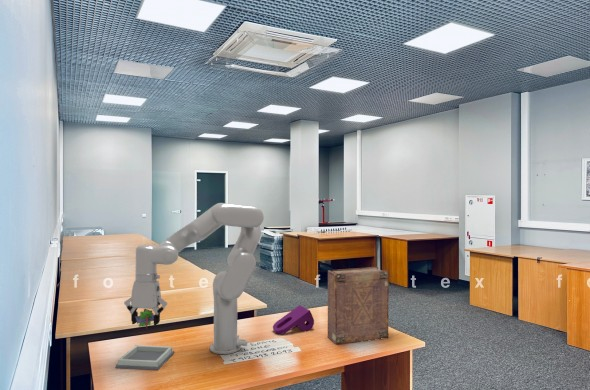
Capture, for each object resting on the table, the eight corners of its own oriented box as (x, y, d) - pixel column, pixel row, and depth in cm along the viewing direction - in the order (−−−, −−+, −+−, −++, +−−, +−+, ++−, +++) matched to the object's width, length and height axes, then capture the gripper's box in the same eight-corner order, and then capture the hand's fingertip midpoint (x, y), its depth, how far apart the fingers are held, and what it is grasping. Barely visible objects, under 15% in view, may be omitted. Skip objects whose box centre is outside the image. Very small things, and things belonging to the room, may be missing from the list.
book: (377, 331, 188) (378, 266, 187) (388, 338, 179) (389, 270, 178) (327, 337, 180) (327, 270, 179) (335, 345, 171) (336, 274, 170)
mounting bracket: (285, 348, 182) (316, 325, 190) (278, 333, 180) (309, 310, 188) (276, 341, 190) (305, 319, 198) (269, 326, 188) (299, 305, 196)
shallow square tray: (174, 353, 161) (174, 346, 161) (157, 370, 146) (157, 362, 146) (135, 351, 163) (135, 344, 163) (115, 368, 148) (115, 360, 148)
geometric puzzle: (158, 323, 151) (155, 303, 155) (139, 326, 148) (136, 306, 152) (154, 330, 156) (151, 310, 160) (135, 333, 152) (133, 313, 156)
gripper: (172, 276, 157) (171, 321, 157) (129, 274, 158) (128, 319, 159) (164, 280, 149) (163, 328, 149) (119, 279, 151) (118, 326, 151)
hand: (145, 323), depth 154 cm, fingers closed on geometric puzzle, 7 cm apart
